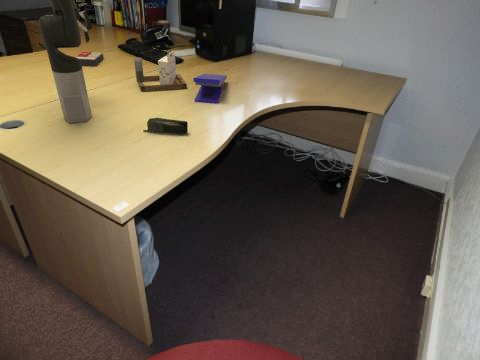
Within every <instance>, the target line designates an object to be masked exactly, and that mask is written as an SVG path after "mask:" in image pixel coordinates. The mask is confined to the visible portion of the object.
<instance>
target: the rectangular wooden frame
mask: <svg viewBox="0 0 480 360" xmlns="http://www.w3.org/2000/svg"><path fill="white" fill-rule="evenodd" d="M133 61H134V69H135V77H136V78H135V79H136V82H137V84H138V86H139V89H140V91H141V92H149V91H150V92H151V91H164V90H165V91H167V90H179V89H181V90H182V89H187V87H188V86H187V85H188V84H187V82H186V81H185V80H184V78H183V77H182V76H181V74H180V73H179V74H178V73H176V81H178V82H179V83H175V84H164V85H160V84H152V85H144V82H152V81H160V78H159V75H158V74H157V75H144V68H143V67H144V66H143V58H142V57H137V56H136V57H134V58H133Z"/></svg>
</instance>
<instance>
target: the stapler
mask: <svg viewBox="0 0 480 360" xmlns="http://www.w3.org/2000/svg"><path fill="white" fill-rule="evenodd" d="M227 77H228V76H227V75H225V74H223V75H222V74H215V73H214V74H213V73H212V74H211V73H203V74H200V75H197V76H195V77H193V83H195V85H196V86H200V88H199V90H198V92H197V93H196V96H195V98H194V103H203V104H204V103H205V104H215V105H216V104H217V105H219V103H220V100H221V95H222V92H223V89H224V85H225V81H226V80H227Z"/></svg>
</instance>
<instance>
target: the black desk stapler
mask: <svg viewBox="0 0 480 360" xmlns="http://www.w3.org/2000/svg"><path fill="white" fill-rule="evenodd" d="M146 127H147V129H143V132H144V133H157V134H166V135H167V134H168V135H178V136H185V135H187V134H188V132H189V131H188V128H189V127H188V121H187V120H178V119H169V118H163V117H152V118H151V117H150V118H148V119H147V124H146Z"/></svg>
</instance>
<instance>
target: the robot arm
mask: <svg viewBox="0 0 480 360" xmlns="http://www.w3.org/2000/svg"><path fill="white" fill-rule="evenodd" d="M49 1H50V5H51V7H52V10H53V14H49V15H48V14H44V15H42V16H40V18H39V21H38V22H39V23H38V24H39V25H38V26H39V30H40V34H41V37H42V40H43V43H44V45H45V50H46V54H47V57H48V59H49V65H50V68H51V72H52V76H53V80H54V83H55V89H56V91H57V96H58V100H59V103H60V107H61V112H62V115H63V118H64V120H65V121H66V122H68V123H69V124H72V123H80V122H81V123H82V122H83V123H84V122H88V121H89V120H90V119H92V117H93V113H92V108H91V103H90V99H89V98H90V97H89V95H88V89H87V85H86V80H85V74H84V71H83V70H84V69H83V66H82V64H81V61H80V60H79V59H78V58H76V57H77V56H71V55H68V54H66V53H64V52H62V51H61V50H59V49H68V48H70V49H71V48H79V47H80V46H81V45H82V44H81V43H82V35H81V30H82V33H83V37H84V41H85V43H89V42H90V36H89V35H90V34H89V31H90V30H92V29H93V26H92V23H91V20H90V17H89V14H88V13H89V12H87V11H86V10H83V11H78V9H77V5H76V2H75V0H49ZM80 16H81V18H83V19H84V21H85V24H86V26H85V25H84V24H82V23H81V22H80V21H79V19H80ZM80 29H81V30H80Z"/></svg>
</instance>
